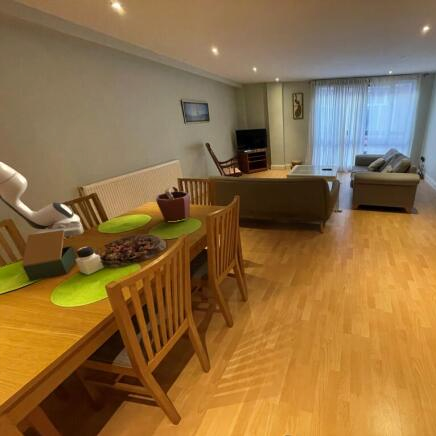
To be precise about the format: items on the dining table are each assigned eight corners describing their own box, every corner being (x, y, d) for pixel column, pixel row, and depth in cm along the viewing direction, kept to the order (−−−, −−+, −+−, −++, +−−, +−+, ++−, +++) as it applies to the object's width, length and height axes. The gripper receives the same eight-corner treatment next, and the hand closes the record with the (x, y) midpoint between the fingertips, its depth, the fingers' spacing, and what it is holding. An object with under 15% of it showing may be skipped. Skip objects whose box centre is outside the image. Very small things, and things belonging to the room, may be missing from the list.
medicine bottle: (104, 267, 121) (96, 246, 117) (88, 275, 115) (79, 253, 111) (95, 264, 124) (88, 244, 119) (79, 271, 118) (71, 250, 113)
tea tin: (44, 264, 124) (38, 251, 121) (77, 258, 129) (72, 245, 126) (29, 281, 111) (22, 267, 108) (66, 273, 116) (61, 260, 113)
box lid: (29, 235, 116) (28, 234, 115) (64, 230, 121) (63, 229, 121) (22, 266, 108) (21, 265, 108) (61, 259, 114) (60, 258, 113)
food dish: (89, 277, 115) (83, 264, 112) (99, 249, 141) (94, 238, 138) (169, 256, 131) (165, 243, 128) (164, 234, 157) (161, 223, 154)
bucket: (183, 225, 170) (177, 191, 161) (153, 225, 171) (144, 191, 161) (197, 213, 193) (192, 183, 183) (170, 213, 193) (163, 182, 184)
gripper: (36, 227, 129) (23, 237, 118) (83, 220, 137) (75, 229, 126) (41, 237, 132) (28, 248, 120) (87, 230, 140) (79, 240, 128)
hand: (52, 238), depth 123 cm, fingers closed
